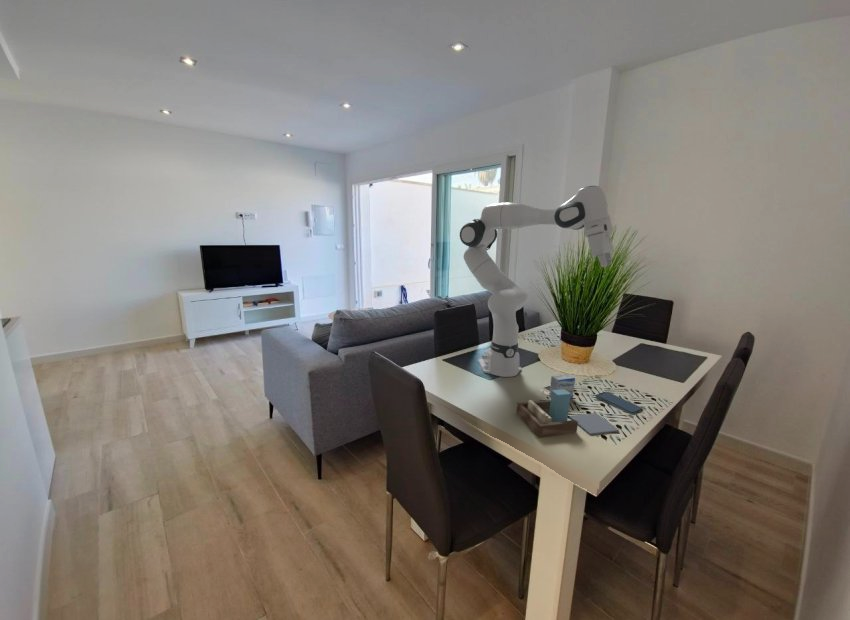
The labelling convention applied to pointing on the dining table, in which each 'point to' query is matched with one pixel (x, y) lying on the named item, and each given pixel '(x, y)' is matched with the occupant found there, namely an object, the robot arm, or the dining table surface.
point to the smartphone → (618, 402)
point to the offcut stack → (538, 413)
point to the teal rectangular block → (559, 405)
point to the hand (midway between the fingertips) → (606, 266)
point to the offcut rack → (545, 428)
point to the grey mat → (594, 424)
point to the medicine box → (563, 383)
